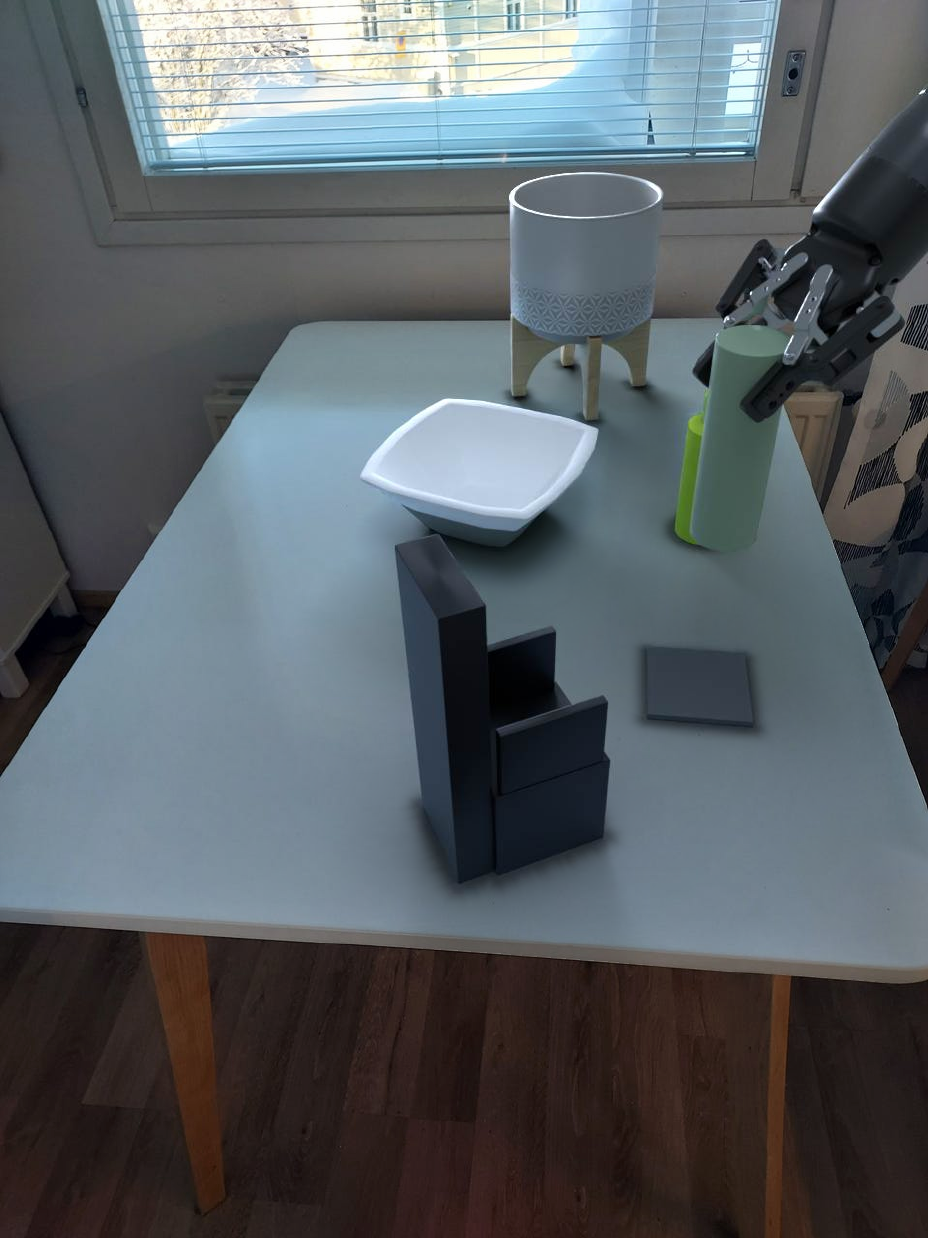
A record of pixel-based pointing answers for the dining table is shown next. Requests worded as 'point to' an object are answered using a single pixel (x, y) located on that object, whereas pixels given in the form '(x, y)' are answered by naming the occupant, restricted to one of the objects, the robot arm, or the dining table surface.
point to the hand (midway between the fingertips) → (724, 396)
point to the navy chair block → (494, 727)
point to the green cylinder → (735, 441)
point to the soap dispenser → (690, 474)
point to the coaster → (698, 686)
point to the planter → (583, 274)
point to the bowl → (480, 467)
